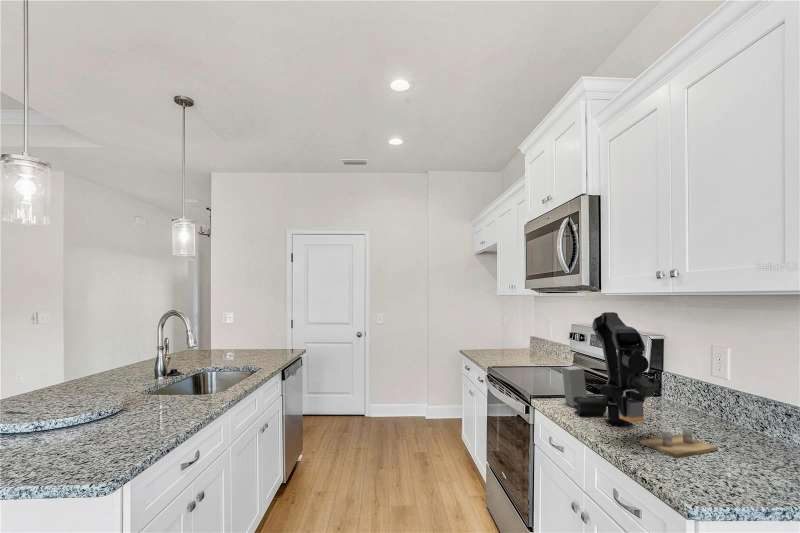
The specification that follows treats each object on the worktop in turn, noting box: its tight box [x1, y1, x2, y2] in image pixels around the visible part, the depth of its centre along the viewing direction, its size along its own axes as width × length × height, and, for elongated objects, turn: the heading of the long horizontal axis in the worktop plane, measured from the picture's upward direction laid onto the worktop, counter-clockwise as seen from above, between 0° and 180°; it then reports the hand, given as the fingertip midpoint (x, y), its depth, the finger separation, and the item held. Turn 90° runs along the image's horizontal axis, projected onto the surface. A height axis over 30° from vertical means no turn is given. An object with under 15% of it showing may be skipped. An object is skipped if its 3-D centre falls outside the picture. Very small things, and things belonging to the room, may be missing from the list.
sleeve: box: [619, 399, 645, 424], centre depth 133 cm, size 5×5×6 cm
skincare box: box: [561, 365, 588, 408], centre depth 172 cm, size 8×7×16 cm
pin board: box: [639, 428, 719, 459], centre depth 123 cm, size 12×16×4 cm
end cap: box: [573, 395, 608, 416], centre depth 158 cm, size 10×7×7 cm
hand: (631, 415), depth 133 cm, fingers closed on sleeve, 5 cm apart
